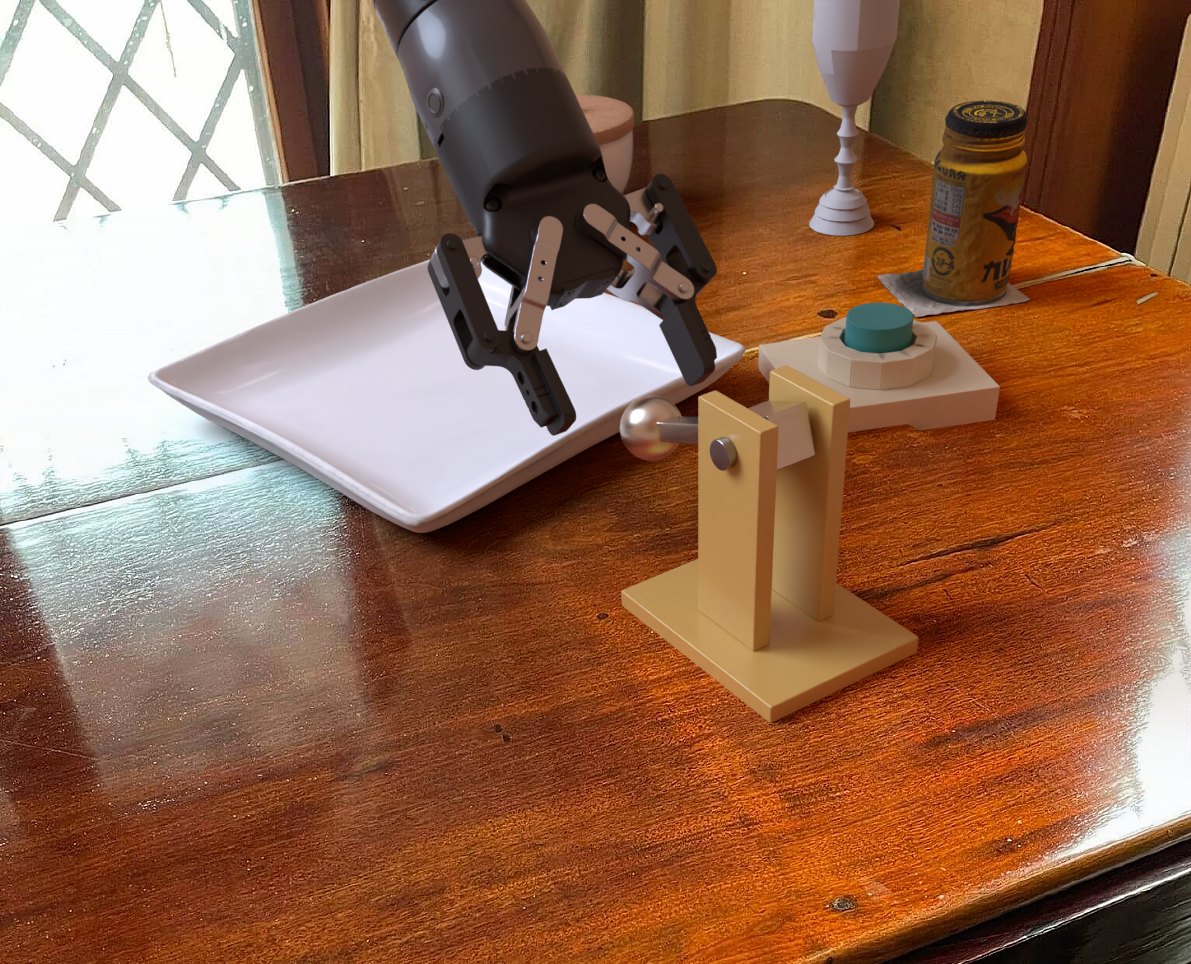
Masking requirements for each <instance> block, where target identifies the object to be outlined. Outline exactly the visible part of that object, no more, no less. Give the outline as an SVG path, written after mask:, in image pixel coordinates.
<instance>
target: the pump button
mask: <svg viewBox="0 0 1191 964" xmlns="http://www.w3.org/2000/svg"><path fill="white" fill-rule="evenodd" d="M845 317H846V327H845V346H847V347H849V348H852V349H855V350H857V351H860V352H867V353H878V354H883V353H890V352H897V351H902V350H904V349H906V348H908V347H910V345H911V337H912V328H913V320H914V319H915V318H914V314H913V313H912V312H911V311H910V310H908V309H907V308H906V307H905V306H904V305H903V306H902V305H900V304H897V303H896V304H895V303H891V302H868V303H862V304H859V305H856V306H853V307H852V308H850V309H849V310H848V311H847V313H846V316H845Z"/></svg>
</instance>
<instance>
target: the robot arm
mask: <svg viewBox="0 0 1191 964" xmlns="http://www.w3.org/2000/svg"><path fill="white" fill-rule="evenodd" d="M370 1H371V3H372V5H373V8H374V10H375V12H376V15H377V17H378V19H379V21H380V23H381V26H382V28H383V30H384V32H385V34H386V37H387V38H388V40H389V42H390V45H391V47H392V49H393V51H394V54H395V56H396V58H397V59H398V62H399V65H400V68H401V70H402V72H403V75H404V78H405V81H406V85H407V88H408V91H409V94H410V97H411V100H412V103H413V105H414V108H415V110H416V113H417V115H418V117H419V118H420V120H421V123H422V125H423V127H424V129H425V132H426V134H427V136H428V138H429V140H430V142H431V145H432V146H433V148H434V149H433V150H434V151H435V153H436V155H437V157H438V159H439V161H440V164H441V166H442V168H443V170H444V173H445V174H446V177H447V180H448V181H449V183H450V185H451V187H452V189H453V191H454V193H455V196H456V198H457V200H458V203H459V205H460V207H461V209H462V210H463V213H464V216H465V217H466V219H467V221H468V223H469V224H470V225H471V226H472V227H473V228H474V230H475V233H476V236H473V237H470V238H465V239H462V238H461V237H460V236H459V235H457V234H456V233H450V232H449V233H445V234H443V235H442V236H441V237H440V239H439V241H438V243H437V244H436V246H435V248H434V249H433V252H432V254H431V257H430V258H429V260H430V261H429V263H428V267H427V269H428V273H429V275H430V278H431V280H432V283H433V285H434V288H435V290H436V292H437V295H438V297H439V300H440V302H441V305H442V307H443V310H444V312H445V315H446V317H447V320H448V322H449V325H450V327H451V330H452V332H453V335H454V337H455V340H456V342H457V345H458V347H459V350H460V352H461V355H462V357H463V360H464V362H465V364H466V365H467V366H468V367H469V368H471V369H473V370H480V369H482V368H484V367H485V366H499V367H503V368H505V369H507V370H508V371H509V372H510V373H511V374H512V375H513V377H514V379H515V382H516V384H517V386H518V388H519V390H520V392H521V394H522V397H523V399H524V401H525V403H526V405H527V407H528V408H529V412H530V414H531V416H532V418H533V420H534V421H535V422H536V423H537V424H538V425H539V426H540V427H541V428H542V427H545V426H546V427H547V429H548V431H549V433H550V434H551V435H553V436H555V435H557V434H560V433H563V432H566V431H567V430H568V429H569V428H570V427H571V426H572V424H573V423H574V422H575V421H576V411H575V409H574V406H573V404H572V402H571V400H570V398H569V396H568V394H567V391H566V389H565V387H564V385H563V383H562V381H561V379H560V376H559V374H558V372H557V370H556V368H555V366H554V364H553V361H552V359H551V357H550V355H549V353H548V351H547V349H543V350H540V351H539V348H538V346H537V343H538V338H539V333H540V328H541V323H542V318H543V313H544V310H545V308H546V306H550V308H551V310H555V309H558V308H561V307H564V306H566V305H567V304H569V303H570V302H571V301H573V300H574V299H583V298H593V297H596V296H599V295H602V294H603V293H606V291H608V292H610V293H612V294H613V296H615V297H618V298H620V299H622V300H624V301H628V302H633V303H635V304H637V305H640V306H642V307H644V308H645V309H647V310H648V311H650V312H651V313H653V314H654V315H656V316H657V317H659V318H660V319H662V320H663V321H662V322H661V323H660V325H659V326H660V328H661V330H662V333H663V335H664V337H665V339H666V341H667V343H668V346H669V348H670V350H671V352H672V354H673V356H674V358H675V361H676V363H677V365H678V367H679V369H680V371H681V373H682V376H683V378H684V380H685V382H686V383H687V385H689V386H694V385H696V384H699V383H702V382H704V381H705V380H706V379H707V378H708V377H709V376H710V375H711V374H712V373H713V372H714V370H715V362H714V360H715V359H716V358H717V352H716V347H715V345H714V342H713V340H712V339H711V336H710V334H709V332H710V331H708V327H707V325H706V323H705V321H704V319H703V316H702V314H701V312H700V310H699V308H698V306H697V303H696V298H697V297H698V295H699V294H700V293H701V292H702V291H703V290H704V289H705V288H706V286H708V284H709V283H710V282H711V281H712V279H713V278H714V277H716V275H717V272H718V269H717V264H716V262H715V261H714V258H713V256H712V255H711V253H710V251H709V250H708V247H707V246H706V244H705V242H704V240H703V238H702V236H701V234H700V232H699V230H698V228H697V227H696V224H695V223H694V221H693V219H692V216H691V214H690V213H689V211H688V209H687V207H686V206H685V203H684V202H683V200H682V198H681V196H680V195H679V192H678V190H677V188H676V187H675V184H674V183H673V181H672V179H671V178H670V177H669V176H668V175H667V174H664V173H657V174H655V175H654V176H653V177H652V179H651V180H650V182H648V184H647V186H646V187H643V188H641V189H638V190H635V191H633V192H629V193H627V194H624V193H623V194H622V193H621V192H619V191H618V190H617V189H616V188H615V187H614V186H613V185H612V183H611V182H610V181H609V179H608V177H607V175H606V171H605V167H604V162H603V157H602V153H601V149H600V147H599V145H598V143H597V140H596V138H595V136H594V134H593V132H592V130H591V128H590V125H589V123H588V121H587V119H586V117H585V115H584V113H583V110H582V108H581V106H580V104H579V102H578V100H577V97H576V95H577V94H576V93H575V91H574V89H573V87H572V85H571V82H570V80H569V78H568V76H567V75H566V72H565V70H564V68H563V66H562V63H561V61H560V59H559V57H558V55H557V52H556V50H555V48H554V46H553V44H552V42H551V40H550V37H549V35H548V34H547V32H546V30H545V28H544V26H543V25H542V23H541V21H540V19H539V18H538V17H537V15H536V13H535V12H534V10H533V9H532V7H531V6H530V4H529V3H528V0H370ZM630 222H631V223H633V224H634V225H635V226H636V227H637V233H638V234H639V235H640V236H645V235H647V237H648V239H649V241H650V243H651V244H650V243H648V242H647V241H645V240H643V239H642V238H641V237H639V236H638V235H637V234H635V233H633V232H632V231H631V230H629V229H630ZM624 260H625V261H626V262H628V263H629V264H630V265H631V266H632V267H633V269H632V270H625V269H623V265H624ZM481 263H482V264H483V265H484V266H485V267H486V268H487V269H489V270H490V271H492V272H493V273H494V274H496V275H497V276H499V277H500V278H502V279H503V280H505V281H506V282H507V283H509V284H510V285H512V289H511V293H510V298H509V303H508V308H507V313H506V318H505V324H504V325H505V326H506V328H505V331H503V330H498V328H497V326H496V323H495V321H494V318H493V316H492V313H491V311H490V308H489V306H488V303H487V301H486V298H485V296H484V293H483V291H482V288H481V286H480V283H479V281H478V279H479V277H480V275H481V273H482V268H481Z"/></svg>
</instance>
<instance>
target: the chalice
mask: <svg viewBox="0 0 1191 964" xmlns="http://www.w3.org/2000/svg"><path fill="white" fill-rule="evenodd" d="M900 4H901V0H813V15H812V16H813V17H812V32H811V33H812V35H811V44H812V47H813V51H814V55H815V59H816V64H817V67H818V71H819V72H820V75H821V78H822V81H823V83H824V86H825V88H826V91H827V94H828V96H829V99H830V101H831V102H832V103H834V104H835V105H838V106H840V107H841V111H842V113H841V114H842V120H841V124H840V128H839V130H838V131H837V132H836V135H837V137H838V138H839V144H840V149H839V151H838V152H839V153H838V154H837V155H836V156H835V157H834V159H833V161H834V162H835V163H836V165H837V169H838V177H837V178H838V179H837V182H836V184H835V185H833V188H831V189H829V190H827V191H825V192H824V193H823V194H822V196H821V197H820V198H819V201H818V202H819V203H818V204H817V206H816V207H815V209H814V214H813V216H812V217H811V219H810V220H809V224H808V226H809V227H810V228H811V229H812V230H813V231H814V232H817V233H820V234H823V235H828V236H839V237H840V236H841V237H843V236H844V237H845V236H855V235H859V234H860V235H861V234H864V233H866V232H868V231H870V230H871V229H873V228H874V226H875V221H874V220H873V218H872V216H871V209H870V207H869V205H868V204H867V203H868V199H867V198H866V196H865V195H864V194H863V192H862V191H860V190H859V189H856V187H855V185H854V184H853V182H852V171H853V167H854V164H856V163H857V161H858V157H857V156H856V155H855V151H854V143H855V141H856V138H857V136H858V135H859V130H857V125H856V114H857V109H858V106H861V105H864V104H865V103H867V102H868V101H869V100H870V99H871V97H872V95H873V93H874V91H875V89H876V87H877V85H878V83H879V81H880V79H881V78H882V75H883V73H884V71H885V69H886V68H887V64H888V62H889V59H890V56H891V54H892V51H893V48H894V46H895V44H896V41H897V39H898V37H897V36H898V25H899V17H900V15H899V14H900Z"/></svg>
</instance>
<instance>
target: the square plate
mask: <svg viewBox="0 0 1191 964" xmlns="http://www.w3.org/2000/svg"><path fill="white" fill-rule="evenodd" d="M429 261H430V259H427V260H425V261H422V262H419V263H416V264H412V265H409V266H407V267H405V268H401V269H399V270H396V271H392V272H390V273H388V274H384V275H382V276H380V277H377V278H374V279H371V280H368V281H366V282H365V281H364V282H363V283H360V284H357V285H355V286H352V287H350V288H348V289H345V290H343V291H339V292H337V293H334V294H332V295H329V296H327V297H324V298H321V299H319V300H317V301H314V302H312V303H309V304H307V305H304V306H302V307H299V308H296V309H294V310H292V311H290V312H287V313H285V314H282V315H280V316H278V317H275V318H273V319H270V320H268V321H265V322H263V323H261V324H258V325H256V326H254V327H251V328H249V329H247V330H243V331H242V332H239V333H238V334H235V335H233V336H230V337H228V338H226V339H223V340H221V341H218V342H216V343H214V344H212V345H210V346H207V347H205V348H203V349H201V350H199V351H196V352H194V353H192V354H189V355H187V356H185V357H183V358H181V359H178V360H177V359H176V360H175V361H173V362H170V363H168V364H166V365H164V366H162V367H159V368H157V369H155V370H153V371H151V372H149V373H148V375H147V380H148V382H149V384H151V385H153V386H154V387H156V388H157V389H159V390H160V391H161V392H163V393H164V394H166V395H167V396H168V397H170V398H172V399H173V400H175V401H176V402H177V403H179V404H181V405H183V406H184V407H186V408H187V409H189V410H190V411H192V412H194V413H195V414H197V415H199V416H200V417H203V418H205V419H206V420H208V421H210V422H212V423H214V424H216V425H218V426H220V427H222V428H224V429H226V430H227V431H231V432H232V433H234V434H236V435H238V436H240V437H242V438H244V439H245V440H248V441H250V443H251V442H252V443H254V444H255V445H256V446H259V447H261V448H263V449H264V450H266V451H268V452H270V453H272V454H274V455H275V456H277V457H279V458H281V459H283V460H285V461H287V462H288V463H290V464H292V465H294V466H295V467H297V468H299V469H300V470H302V471H303V472H305V473H307V474H309V475H311V476H313V477H314V478H316V479H317V480H319V481H321V482H323V483H324V484H326V485H327V486H329V487H330V488H333V489H334V490H336V491H337V492H339V493H340V494H342V495H344V496H345V497H347V498H348V499H351V500H352V501H354V502H355V503H356V504H358V505H360V506H362V507H363V508H365V509H366V510H368V511H370V512H372V513H374V514H376V515H377V516H379V517H382V518H383V519H385V520H387V521H389V522H391V523H392V524H394V525H397V526H399V527H401V528H404V529H405V530H408V531H410V532H413V533H418V534H426V533H430V532H434V531H436V530H439V529H441V528H444V527H446V526H449V525H451V524H453V523H456V522H457V521H459V520H461V519H463V518H465V517H467V516H469V515H471V514H472V513H474V512H476V511H478V510H480V509H482V508H484V507H486V506H488V505H489V504H491V503H493V502H495V501H496V500H498V499H500V498H502V497H503V496H506V495H507V494H508V493H510V492H512V491H514V490H515V489H517V488H519V487H521V486H523V485H525V484H527V483H528V482H530V481H532V480H533V479H535V478H537V477H539V476H541V475H542V474H545V473H546V472H548V471H549V470H551V469H553V468H555V467H556V466H558V465H561V464H562V463H564V462H566V461H567V460H569V459H571V458H572V457H575V456H576V455H578V454H580V453H582V452H584V451H585V450H588V449H589V448H591V447H593V446H595V445H597V444H599V443H600V442H603V441H605V440H607V439H609V438H610V437H612V436H615V435H616V434H618V433H620V422H621V418H622V415H623V413H624V411H625V410H626V408H627V407H628V406H629V405H630V404H631V403H632V402H633V401H635V400H636V399H638V398H640V397H643V396H647V395H657V396H661V397H664V398H666V399H668V400H669V401H671V402H672V403H673V404H674V405H675V406H676V404H678V403H681V402H683V401H684V400H686V399H688V398H690V397H691V396H693V395H695V394H697V393H699V392H700V391H703V390H704V389H706V388H707V387H709V386H711V385H712V384H714V383H715V382H716V381H717V380H719V379H720V378H721V377H722V376H724V375H725V374H726V373H727V372H729V370H730V369H731V368H732V367H734V366H735V365H736V364H737V363H739V361H741V360H742V358H743V357H744V354H745V353H746V351H747V350H746V347H745V346H744V345H743V344H742V343H740V342H738V341H734V340H733V339H729V338H727V337H724V336H720V335H718V334H715V333H713V332H711V331H708V332H709V334H710V336H711V339H712V340H713V342H714V345H715V347H716V352H717V358H716V359H715V360H714V362H715V370H714V372H713V373H712V374H711V375H710V376H709V377H708V378H707V379H706V380H705V381H704V382H702V383H699V384H696V385H694V386H689V385H687V383H686V382H685V380H684V378H683V376H682V373H681V371H680V369H679V367H678V365H677V363H676V361H675V358H674V356H673V354H672V352H671V350H670V348H669V346H668V343H667V341H666V339H665V337H664V335H663V333H662V330H661V328H660V326H659V325H660V323H661V322H662V321H663V320H662V319H660V318H659V317H657V316H656V315H654V314H653V313H651V312H650V311H648V310H647V309H645V308H644V307H642V306H641V305H639V304H638V303H635V302H633V301H629V302H628V301H624V300H622V299H620V298H619V297H617V296H616V295H612V294H609V293H606V292H604V293H603V294H602V295H599V296H596V297H593V298H583V299H574V300H573V301H571V302H570V303H569V304H567V305H566V306H564V307H561V308H558V309H555V310H551V308H550V306H546V308H545V310H544V313H543V318H542V323H541V328H540V333H539V338H538V343H537V346H538V348H539V351H540V350H543V349H547V351H548V353H549V355H550V357H551V359H552V361H553V364H554V366H555V368H556V370H557V372H558V374H559V376H560V379H561V381H562V383H563V385H564V387H565V389H566V391H567V394H568V396H569V398H570V400H571V402H572V404H573V406H574V409H575V411H576V421H575V422H574V423H573V424H572V426H571V427H570V428H569V429H568V430H567V431H566V432H563V433H560V434H557V435H555V436H553V435H551V434H550V433H549V431H548V429H547V427H546V426H545V427H542V428H541V427H540V426H539V425H538V424H537V423H536V422H535V421H534V420H533V418H532V416H531V414H530V412H529V408H528V407H527V405H526V403H525V401H524V399H523V397H522V394H521V392H520V390H519V388H518V386H517V384H516V382H515V379H514V377H513V375H512V374H511V373H510V372H509V371H508V370H507V369H505V368H503V367H499V366H485V367H484V368H482V369H480V370H473V369H471V368H469V367H468V366H467V365H466V364H465V362H464V360H463V357H462V355H461V352H460V350H459V347H458V345H457V342H456V340H455V337H454V335H453V332H452V330H451V327H450V325H449V322H448V320H447V317H446V315H445V312H444V310H443V307H442V305H441V302H440V300H439V297H438V295H437V292H436V290H435V288H434V285H433V283H432V280H431V278H430V275H429V273H428V269H427V267H428V263H429ZM481 268H482V273H481V275H480V277H479V279H478V281H479V283H480V286H481V288H482V291H483V293H484V296H485V298H486V301H487V303H488V306H489V308H490V311H491V313H492V316H493V318H494V321H495V323H496V326H497V328H498V330H503V331H505V328H506V326H505V325H504V324H505V318H506V313H507V308H508V303H509V298H510V293H511V289H512V285H510V284H509V283H507V282H506V281H505V280H503V279H502V278H500V277H499V276H497V275H496V274H494V273H493V272H492V271H490V270H489V269H487V268H486V267H485V266H484V265H483V264H482V263H481Z"/></svg>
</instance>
